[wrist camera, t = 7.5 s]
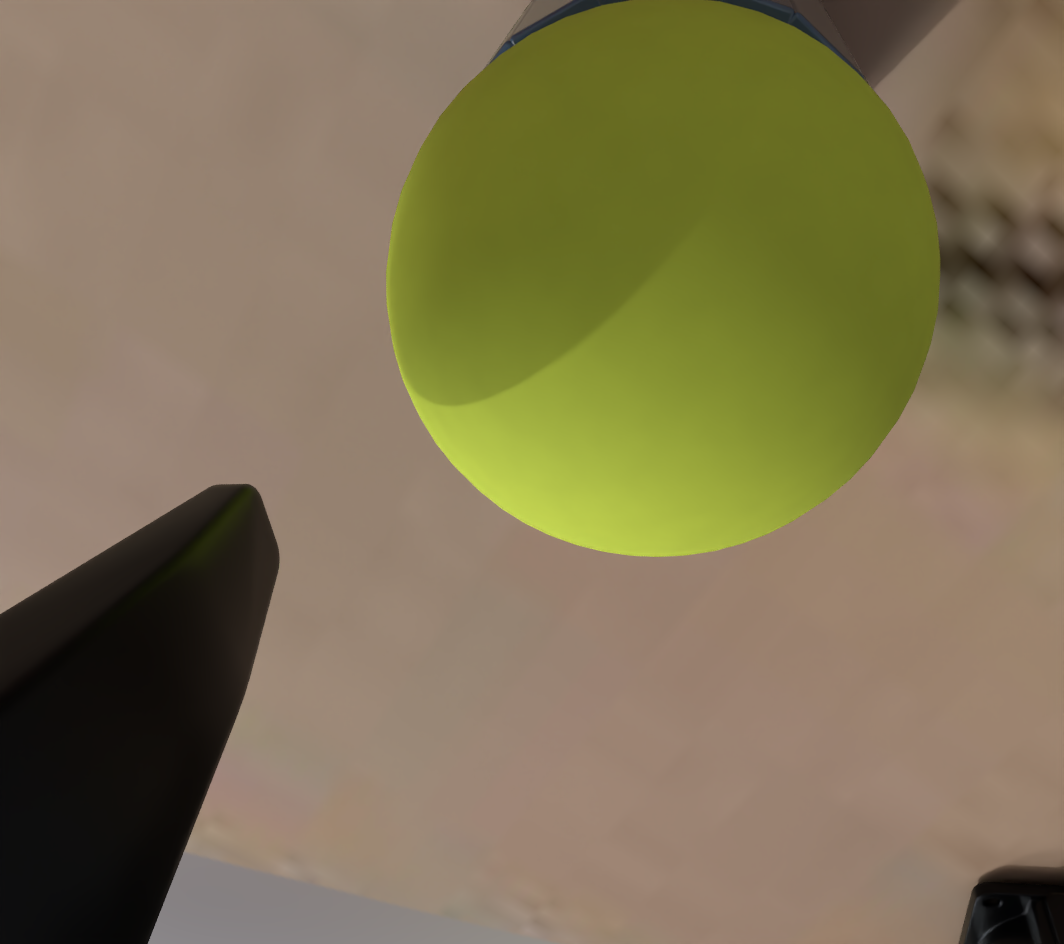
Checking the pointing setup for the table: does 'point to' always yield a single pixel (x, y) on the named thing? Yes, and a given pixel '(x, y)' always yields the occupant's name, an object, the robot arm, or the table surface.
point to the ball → (663, 277)
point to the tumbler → (787, 3)
